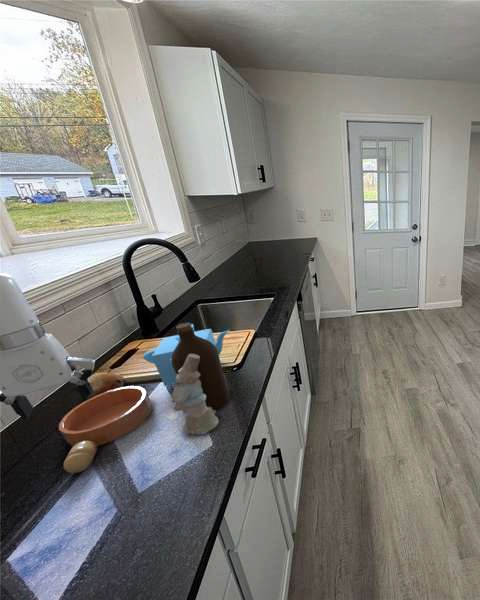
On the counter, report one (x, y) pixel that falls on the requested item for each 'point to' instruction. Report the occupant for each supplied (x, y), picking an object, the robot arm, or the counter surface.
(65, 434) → the terracotta dish
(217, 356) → the olive oil
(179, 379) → the figurine
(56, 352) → the robot arm
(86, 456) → the potato
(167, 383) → the light blue teapot
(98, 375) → the bread roll
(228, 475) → the counter surface
